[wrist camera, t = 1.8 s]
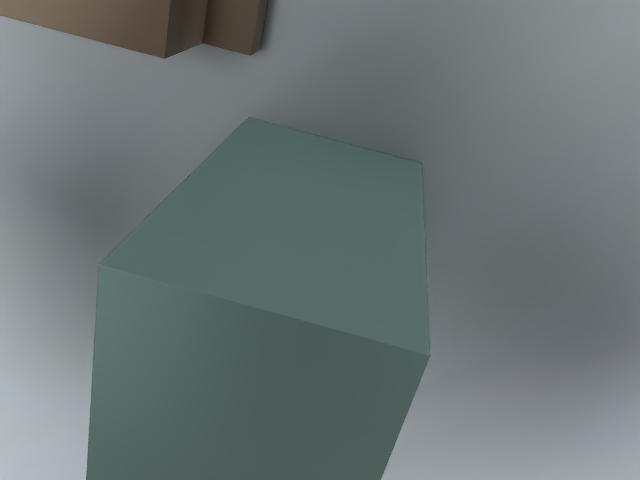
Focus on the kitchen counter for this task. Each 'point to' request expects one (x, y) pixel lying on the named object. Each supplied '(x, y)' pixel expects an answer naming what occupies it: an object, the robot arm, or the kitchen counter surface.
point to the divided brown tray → (150, 22)
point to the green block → (264, 317)
